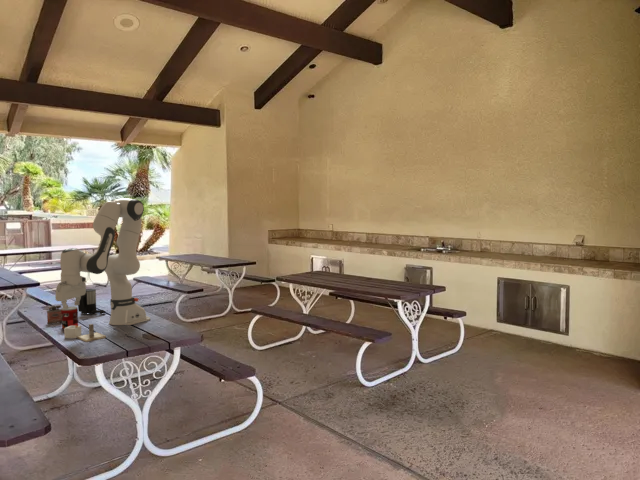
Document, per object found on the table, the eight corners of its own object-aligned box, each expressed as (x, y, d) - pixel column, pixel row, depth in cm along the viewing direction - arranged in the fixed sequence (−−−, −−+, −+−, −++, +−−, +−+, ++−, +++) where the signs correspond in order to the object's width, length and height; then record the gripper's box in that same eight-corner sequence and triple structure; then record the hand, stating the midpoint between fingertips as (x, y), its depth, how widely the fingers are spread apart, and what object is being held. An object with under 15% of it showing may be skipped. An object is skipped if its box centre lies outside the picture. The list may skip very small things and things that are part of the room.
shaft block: (97, 334, 248) (96, 321, 248) (106, 337, 242) (105, 324, 241) (77, 338, 241) (76, 324, 240) (85, 341, 234) (85, 327, 234)
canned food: (60, 327, 263) (59, 307, 262) (76, 324, 268) (75, 305, 267) (63, 330, 257) (62, 310, 256) (79, 327, 262) (79, 308, 262)
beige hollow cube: (71, 335, 247) (70, 324, 246) (81, 335, 246) (81, 324, 246) (64, 337, 241) (64, 327, 241) (74, 338, 241) (74, 327, 240)
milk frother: (83, 311, 303) (82, 288, 302) (109, 310, 306) (108, 287, 304) (76, 316, 289) (75, 292, 288) (103, 315, 292) (103, 291, 291)
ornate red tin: (47, 324, 270) (46, 307, 269) (46, 323, 273) (46, 306, 272) (63, 322, 275) (62, 305, 274) (62, 321, 277) (61, 304, 277)
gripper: (63, 283, 231) (64, 311, 232) (87, 277, 251) (88, 303, 252) (51, 283, 232) (52, 310, 232) (76, 277, 252) (77, 303, 253)
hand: (71, 306), depth 242 cm, fingers open, 8 cm apart
